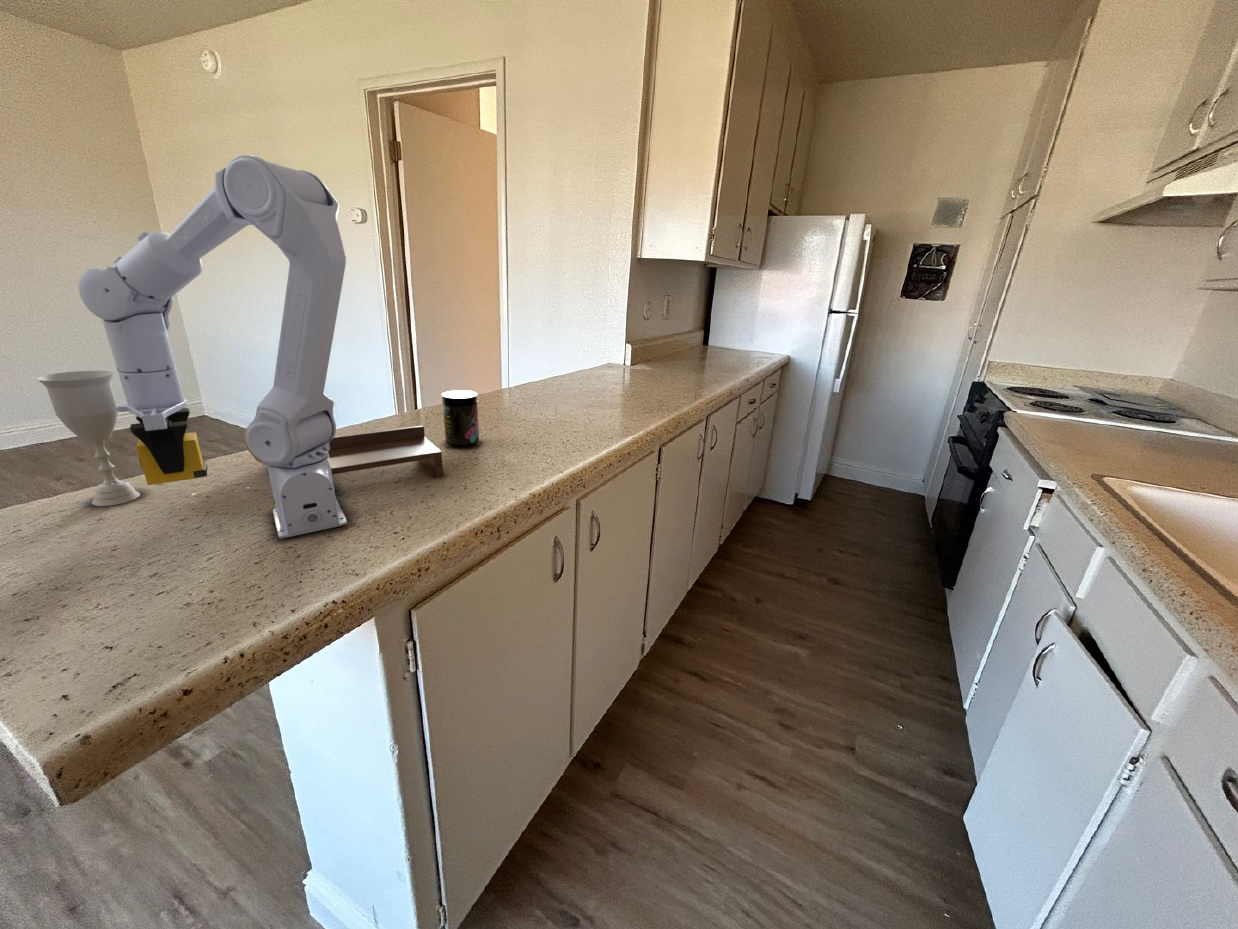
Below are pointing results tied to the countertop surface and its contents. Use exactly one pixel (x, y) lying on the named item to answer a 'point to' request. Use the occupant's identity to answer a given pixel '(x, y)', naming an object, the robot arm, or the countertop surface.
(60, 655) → the countertop surface
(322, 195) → the robot arm
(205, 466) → the tape measure
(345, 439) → the shelf
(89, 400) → the chalice
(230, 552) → the countertop surface
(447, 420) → the supplement container
